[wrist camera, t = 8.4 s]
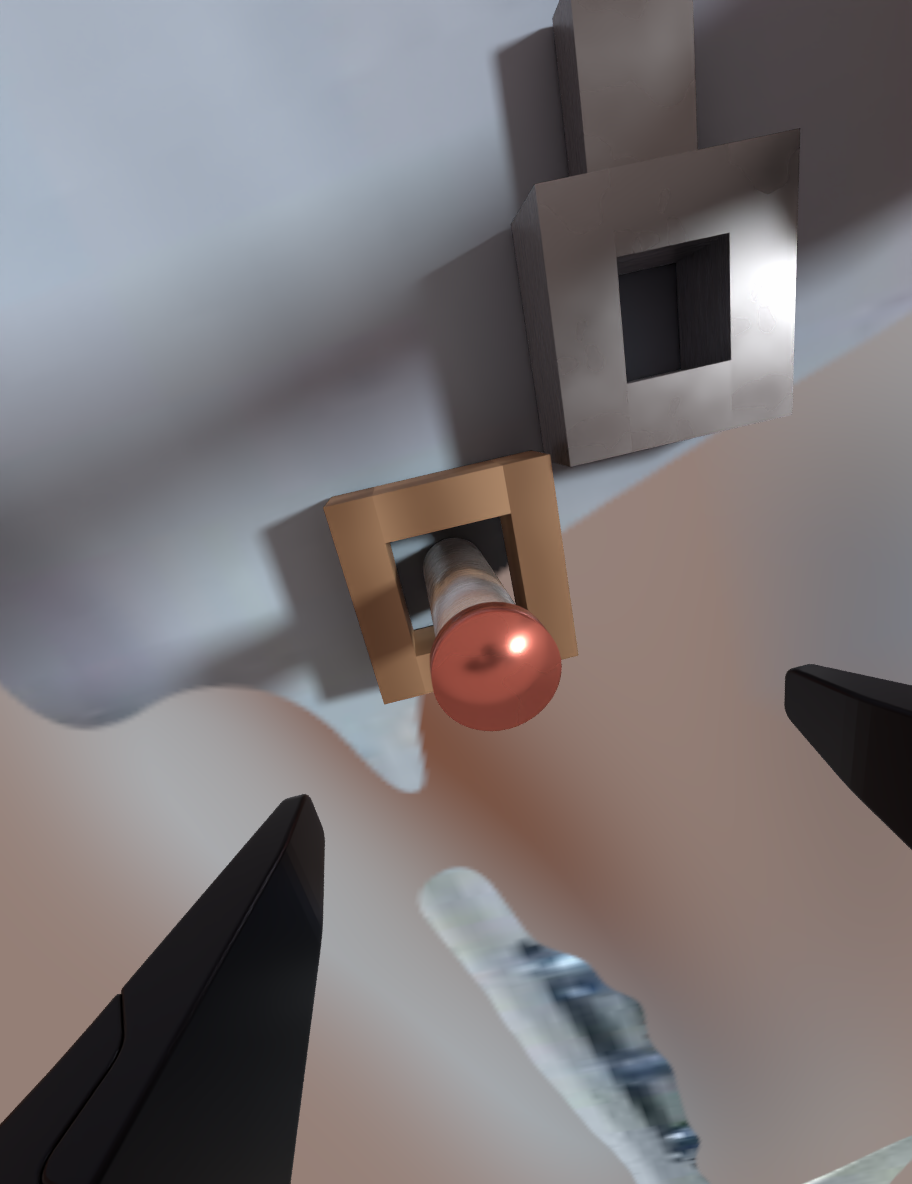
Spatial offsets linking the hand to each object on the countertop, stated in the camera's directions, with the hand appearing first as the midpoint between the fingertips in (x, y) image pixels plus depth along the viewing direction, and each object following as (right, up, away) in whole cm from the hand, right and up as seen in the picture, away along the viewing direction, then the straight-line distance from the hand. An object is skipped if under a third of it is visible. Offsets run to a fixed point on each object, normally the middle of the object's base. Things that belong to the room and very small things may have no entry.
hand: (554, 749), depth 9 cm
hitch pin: (-2, +4, +12) cm, 12 cm away
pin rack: (-2, +4, +12) cm, 12 cm away
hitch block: (+4, +15, +8) cm, 18 cm away
